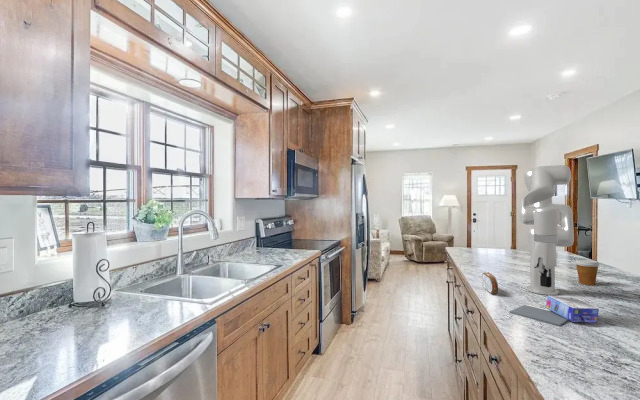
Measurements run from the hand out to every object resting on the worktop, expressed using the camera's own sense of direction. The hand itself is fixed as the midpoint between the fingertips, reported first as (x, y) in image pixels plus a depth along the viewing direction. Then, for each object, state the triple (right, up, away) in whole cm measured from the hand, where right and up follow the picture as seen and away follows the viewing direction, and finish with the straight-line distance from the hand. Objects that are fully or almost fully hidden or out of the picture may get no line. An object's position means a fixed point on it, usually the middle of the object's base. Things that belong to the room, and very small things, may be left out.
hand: (545, 286), depth 120 cm
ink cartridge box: (+5, -7, +1) cm, 9 cm away
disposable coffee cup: (+52, -11, +41) cm, 67 cm away
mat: (-4, -10, -3) cm, 11 cm away
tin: (-6, -11, +29) cm, 31 cm away
